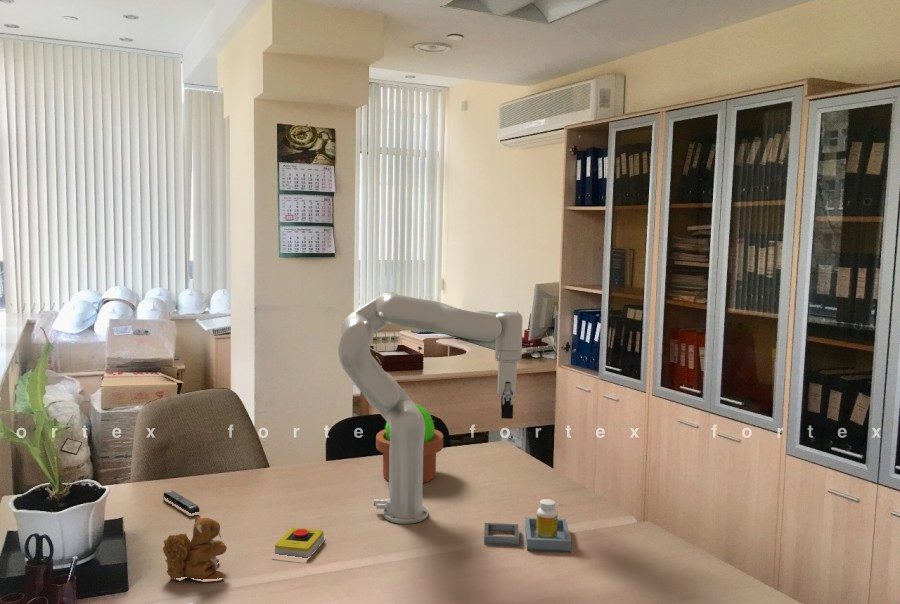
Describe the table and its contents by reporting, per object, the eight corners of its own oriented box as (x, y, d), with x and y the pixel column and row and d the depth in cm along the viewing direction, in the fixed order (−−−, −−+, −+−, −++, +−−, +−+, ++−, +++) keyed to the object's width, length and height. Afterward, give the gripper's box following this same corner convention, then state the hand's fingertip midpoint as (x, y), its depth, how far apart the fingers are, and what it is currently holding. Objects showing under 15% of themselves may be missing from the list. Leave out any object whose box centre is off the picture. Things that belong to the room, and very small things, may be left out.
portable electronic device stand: (200, 516, 200) (199, 506, 200) (191, 519, 199) (191, 508, 198) (171, 499, 213) (171, 489, 213) (162, 501, 211) (162, 491, 211)
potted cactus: (441, 488, 225) (443, 410, 222) (372, 486, 225) (372, 408, 222) (443, 465, 247) (444, 394, 244) (379, 464, 247) (380, 392, 244)
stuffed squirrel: (227, 581, 164) (226, 525, 162) (160, 589, 159) (159, 532, 158) (226, 561, 173) (226, 509, 172) (164, 569, 169) (162, 515, 167)
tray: (527, 550, 182) (527, 539, 181) (525, 527, 196) (525, 517, 195) (570, 552, 181) (571, 541, 181) (565, 529, 195) (565, 519, 195)
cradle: (483, 544, 185) (484, 536, 185) (484, 529, 194) (484, 522, 194) (518, 545, 184) (519, 538, 184) (517, 531, 193) (518, 524, 193)
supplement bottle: (556, 542, 185) (557, 506, 184) (535, 540, 186) (536, 504, 185) (557, 534, 190) (558, 498, 190) (537, 532, 192) (538, 497, 191)
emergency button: (327, 523, 187) (305, 548, 172) (327, 539, 188) (305, 565, 173) (293, 520, 189) (269, 544, 174) (293, 536, 189) (269, 561, 174)
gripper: (495, 349, 213) (493, 406, 215) (495, 360, 196) (493, 421, 198) (520, 350, 213) (518, 407, 214) (522, 361, 196) (520, 422, 197)
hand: (506, 413), depth 206 cm, fingers open, 9 cm apart
